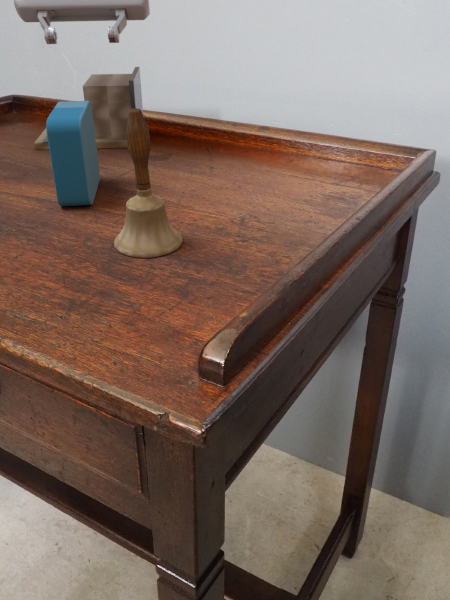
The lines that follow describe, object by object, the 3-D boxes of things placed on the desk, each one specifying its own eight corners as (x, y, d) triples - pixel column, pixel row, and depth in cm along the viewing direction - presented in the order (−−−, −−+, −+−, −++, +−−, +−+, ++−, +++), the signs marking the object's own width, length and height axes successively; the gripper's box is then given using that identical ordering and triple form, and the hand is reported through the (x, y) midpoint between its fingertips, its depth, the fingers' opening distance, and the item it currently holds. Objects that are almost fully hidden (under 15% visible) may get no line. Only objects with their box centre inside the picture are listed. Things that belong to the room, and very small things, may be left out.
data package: (70, 179, 94) (58, 99, 88) (100, 178, 94) (90, 98, 88) (58, 210, 84) (44, 121, 78) (92, 208, 84) (80, 120, 78)
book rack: (35, 149, 107) (23, 83, 102) (50, 129, 118) (41, 67, 113) (138, 147, 108) (133, 81, 102) (144, 127, 119) (139, 66, 113)
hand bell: (152, 264, 70) (141, 123, 62) (99, 247, 74) (82, 112, 66) (196, 238, 76) (191, 106, 68) (145, 223, 80) (134, 96, 72)
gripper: (10, -51, 93) (5, 28, 90) (146, -54, 93) (146, 25, 90) (23, -20, 99) (19, 55, 96) (150, -22, 99) (151, 52, 96)
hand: (82, 41), depth 93 cm, fingers open, 8 cm apart
